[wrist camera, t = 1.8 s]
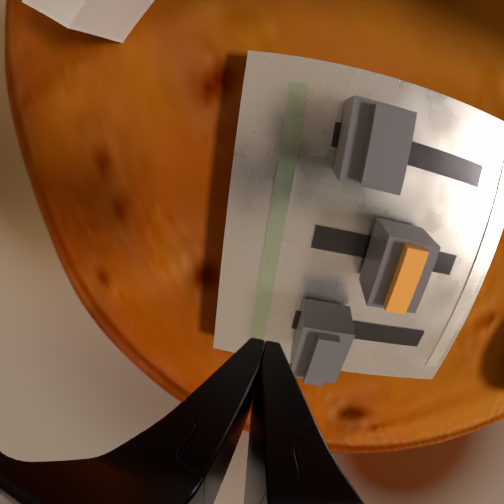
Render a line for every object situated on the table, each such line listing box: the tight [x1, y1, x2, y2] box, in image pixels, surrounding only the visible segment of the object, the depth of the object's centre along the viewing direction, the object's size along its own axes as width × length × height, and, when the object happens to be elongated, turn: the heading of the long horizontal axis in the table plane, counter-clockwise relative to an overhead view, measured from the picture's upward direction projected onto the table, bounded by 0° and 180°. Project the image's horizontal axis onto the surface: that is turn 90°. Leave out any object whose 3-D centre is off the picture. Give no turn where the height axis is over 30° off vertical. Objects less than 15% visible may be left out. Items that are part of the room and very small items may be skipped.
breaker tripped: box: [359, 217, 441, 314], centre depth 16 cm, size 3×4×4 cm
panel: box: [213, 51, 504, 379], centre depth 19 cm, size 18×20×2 cm
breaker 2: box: [333, 95, 417, 196], centre depth 14 cm, size 3×4×4 cm
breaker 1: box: [290, 298, 355, 386], centre depth 19 cm, size 3×4×4 cm
